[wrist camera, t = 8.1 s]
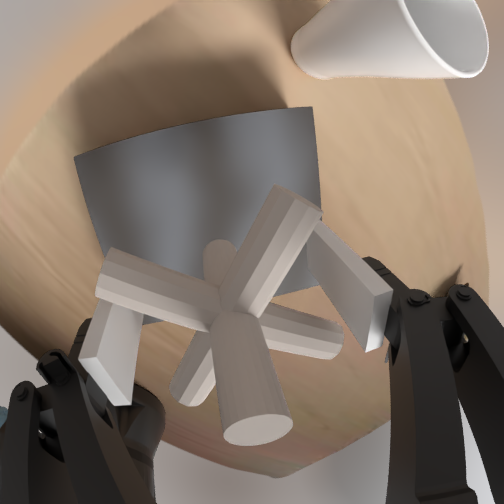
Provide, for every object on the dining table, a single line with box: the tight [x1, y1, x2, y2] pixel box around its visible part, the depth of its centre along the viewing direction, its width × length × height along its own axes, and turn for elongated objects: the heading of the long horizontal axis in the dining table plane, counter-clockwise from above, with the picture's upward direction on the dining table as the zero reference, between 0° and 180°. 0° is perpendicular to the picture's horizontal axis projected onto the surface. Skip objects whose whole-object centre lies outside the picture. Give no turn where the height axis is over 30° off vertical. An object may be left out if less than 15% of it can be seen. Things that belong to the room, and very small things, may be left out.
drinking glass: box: [291, 0, 489, 80], centre depth 13 cm, size 7×7×15 cm
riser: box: [74, 107, 322, 325], centre depth 22 cm, size 16×14×5 cm
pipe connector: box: [95, 184, 344, 446], centre depth 11 cm, size 10×10×10 cm
